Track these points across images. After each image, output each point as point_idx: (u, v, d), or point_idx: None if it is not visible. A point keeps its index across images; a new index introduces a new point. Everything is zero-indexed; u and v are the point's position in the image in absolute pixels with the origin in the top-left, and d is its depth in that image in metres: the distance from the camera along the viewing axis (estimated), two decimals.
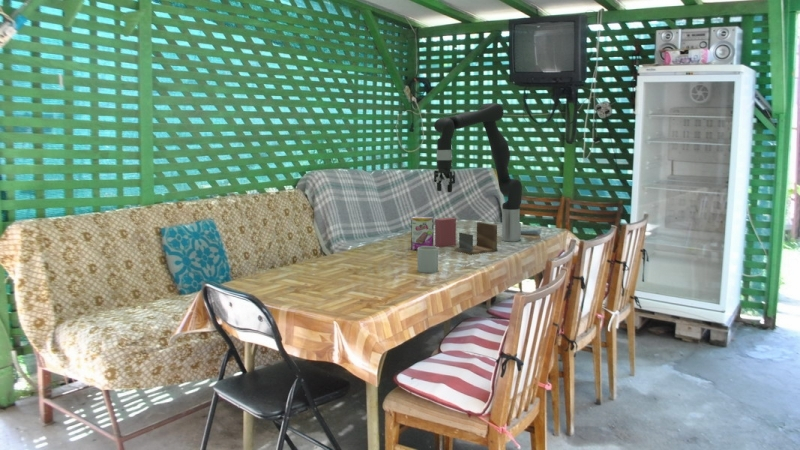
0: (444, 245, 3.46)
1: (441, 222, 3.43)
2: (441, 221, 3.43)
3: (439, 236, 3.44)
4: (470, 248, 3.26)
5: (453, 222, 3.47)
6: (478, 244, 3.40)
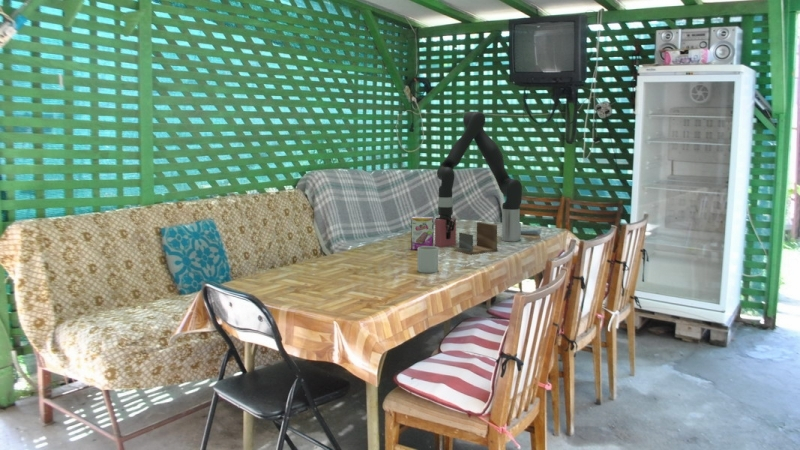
0: (444, 245, 3.46)
1: (441, 222, 3.43)
2: (441, 221, 3.43)
3: (439, 236, 3.44)
4: (470, 248, 3.26)
5: None
6: (478, 244, 3.40)
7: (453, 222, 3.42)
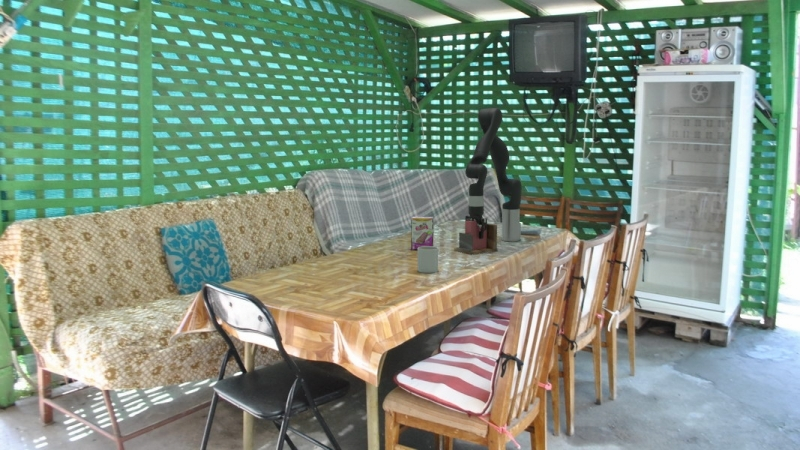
0: (475, 248, 3.30)
1: (472, 224, 3.27)
2: (472, 223, 3.27)
3: None
4: (470, 248, 3.26)
5: None
6: None
7: (485, 220, 3.25)
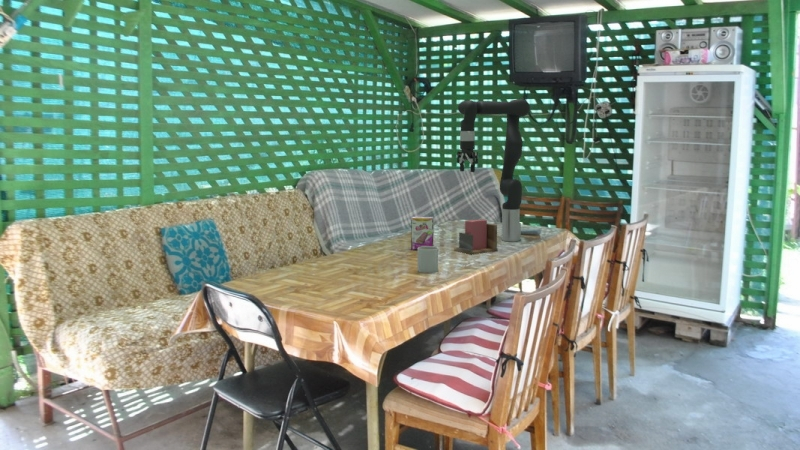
0: (475, 248, 3.30)
1: (472, 224, 3.27)
2: (472, 223, 3.27)
3: None
4: (470, 248, 3.26)
5: (483, 224, 3.31)
6: None
7: (476, 153, 3.39)
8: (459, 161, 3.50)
